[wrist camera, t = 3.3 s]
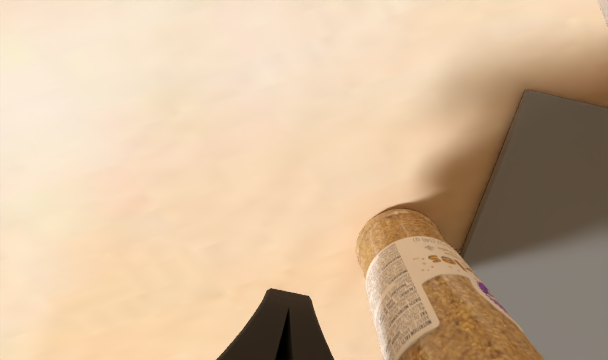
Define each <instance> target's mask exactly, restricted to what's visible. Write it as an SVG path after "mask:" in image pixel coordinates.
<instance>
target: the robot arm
mask: <svg viewBox="0 0 608 360" xmlns="http://www.w3.org/2000/svg"><path fill="white" fill-rule="evenodd" d="M216 360H334V358H333V356H332V354H331V352H330V349H329V347H328V345H327V343H326V340H325V338H324V336H323V333H322V331H321V328H320V325H319V323H318V320H317V317H316V314H315V311H314V308H313V304H312V301H311V299H310V297H309V296H306V295H301V294H296V293H291V292H287V291H282V290H277V289H272V288H271V289H269V290H267V291H266V294H265V296H264V298H263V300H262V302H261V304H260V305H259V307H258V309H257V310H256V312H255V313H254V315H253V316H252V317H251V319H250V320H249V321H248V323H247V324H246V325H245V327H244V328H243V330H242V331H241V332H240V333H239V335H238V336H237V337H236V338H235V339H234V340H233V342H232V343H231V344H230V345H229V346H228V347H227V348H226V350H225V351H224V352H223V353H222V354H221V355H220V356H219V357H218V358H217V359H216Z"/></svg>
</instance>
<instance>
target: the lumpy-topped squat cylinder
mask: <svg viewBox="0 0 608 360" xmlns="http://www.w3.org/2000/svg"><path fill="white" fill-rule="evenodd" d="M598 3H599V6H600V8H601V11H602V13H603V15H604V18H605V20H606V23H607V26H608V0H598Z"/></svg>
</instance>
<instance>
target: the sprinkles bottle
mask: <svg viewBox="0 0 608 360" xmlns="http://www.w3.org/2000/svg"><path fill="white" fill-rule="evenodd" d="M356 253H357V258H358V262H359V264H360V266H361V268H362V270H363V272H364V277H365V280H366V291H367V295H368V299H369V304H370V308H371V312H372V316H373V319H374V323H375V328H376V332H377V336H378V340H379V344H380V348H381V352H382V356H383V360H545V359H544V358H543V356H542V355H541V354H540V353H539V352H538V351H537V350H536V349H535V347H534V346H533V345H532V343H531V342H530V341H529V340H528V339H527V338H526V335H525V334H524V332H523V330H522V329H521V328H520V326H519V325H518V324H517V323H516V322H515V321H514V320H513V318H512V317H511V316H510V315H509V314H508V312H507V311H506V310H505V309H504V308H503V307H502V305H501V304H500V303H499V302H498V301H497V300H496V298H495V297H494V296H493V295H492V294H491V293H490V291H489V290H488V289H487V288H486V286H485V285H484V284H483V283H482V282H481V280H480V279H479V278H478V277H477V276H476V274H475V273H474V272H473V271H472V269H471V268H470V267H469V266H468V264H467V263H466V262H465V261H464V260H463V259H462V257H461V256H460V255H459V254H458V253H457V252H456V251H455V250H454V249H453V248H452V247H451V246H450V245H449V244H448V243H447V242H446V241H445V239H444V238H443V237H442V235H441V233H440V231H439V229H438V227H437V226H436V225H435V224H434V223H433V222H432V221H431V219H430V218H429V217H427V216H425V215H423V214H422V213H420V212H417V211H413V210H409V209H402V208H401V209H392V210H388V211H386V212H383V213H381V214H379V215H377V216H375V217H374V218H372V219H371V220H369V221H368V222H367V223H366V224H365V226H364V228H363V229H362V231H361V232H360V234H359V237H358V239H357V245H356Z"/></svg>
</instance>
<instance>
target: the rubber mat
mask: <svg viewBox="0 0 608 360" xmlns="http://www.w3.org/2000/svg"><path fill="white" fill-rule="evenodd" d="M460 256H461V257H462V259H463V260H464V261H465V262H466V263H467V264H468V266H469V267H470V268H471V269H472V271H473V272H474V273H475V274H476V276H477V277H478V278H479V279H480V280H481V282H482V283H483V284H484V285H485V286H486V288H487V289H488V290H489V291H490V293H491V294H492V295H493V296H494V297H495V298H496V300H497V301H498V302H499V303H500V304H501V305H502V307H503V308H504V309H505V310H506V311H507V312H508V314H509V315H510V316H511V317H512V318H513V320H514V321H515V322H516V323H517V324H518V325H519V326H520V328H521V329H522V330H523V332H524V334H525V335H526V338H527V339H528V340H529V341H530V342H531V343H532V345H533V346H534V347H535V349H536V350H537V351H538V352H539V353H540V354H541V355H542V356H543V358H544V359H545V360H608V108H606V107H601V106H597V105H593V104H588V103H584V102H580V101H575V100H571V99H567V98H562V97H558V96H554V95H549V94H545V93H541V92H536V91H532V90H525V91H524V94H523V96H522V99H521V102H520V104H519V107H518V109H517V112H516V114H515V117H514V119H513V122H512V124H511V127H510V129H509V132H508V135H507V137H506V140H505V142H504V145H503V147H502V150H501V152H500V155H499V157H498V160H497V162H496V165H495V167H494V170H493V173H492V175H491V178H490V180H489V183H488V185H487V188H486V190H485V193H484V195H483V198H482V200H481V203H480V206H479V208H478V211H477V213H476V216H475V218H474V221H473V223H472V226H471V228H470V231H469V233H468V236H467V238H466V241H465V244H464V246H463V249H462V251H461V254H460Z"/></svg>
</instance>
